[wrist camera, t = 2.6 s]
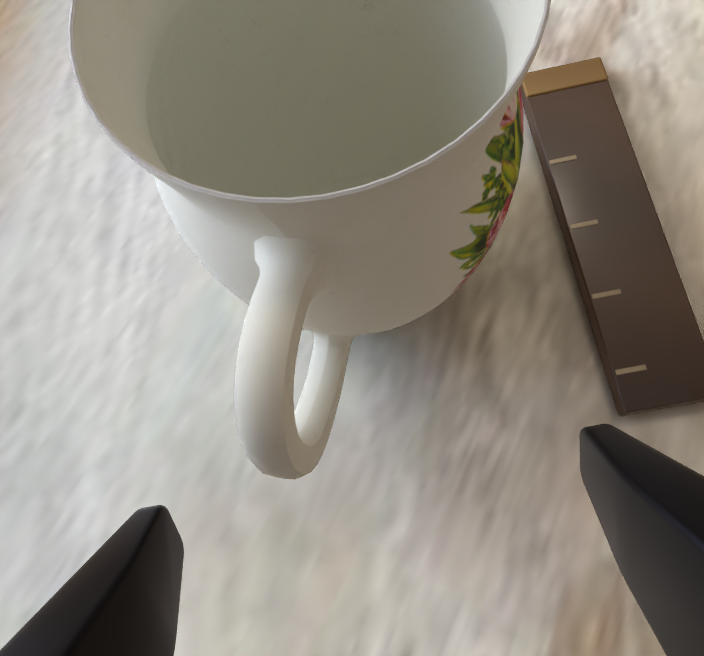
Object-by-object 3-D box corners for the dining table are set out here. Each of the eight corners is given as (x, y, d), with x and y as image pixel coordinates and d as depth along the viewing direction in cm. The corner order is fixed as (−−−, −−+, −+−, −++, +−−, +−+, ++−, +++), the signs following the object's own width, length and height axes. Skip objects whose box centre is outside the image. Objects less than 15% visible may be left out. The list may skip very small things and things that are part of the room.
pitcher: (187, 465, 23) (-121, 416, 10) (270, 80, 28) (136, -296, 15) (470, 507, 21) (550, 515, 8) (505, 91, 26) (592, -320, 13)
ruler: (714, 399, 21) (726, 394, 21) (618, 416, 22) (626, 413, 21) (595, 70, 26) (600, 55, 25) (516, 87, 26) (519, 73, 25)
